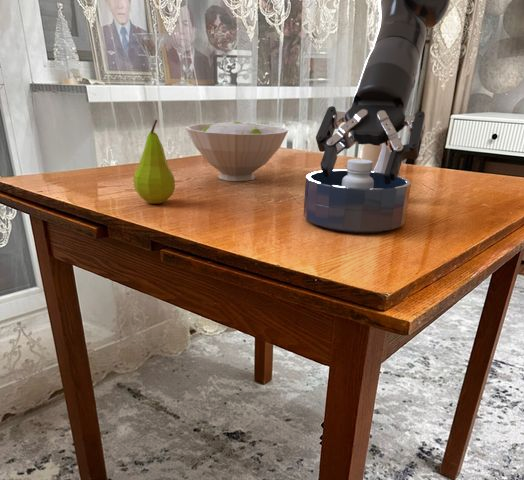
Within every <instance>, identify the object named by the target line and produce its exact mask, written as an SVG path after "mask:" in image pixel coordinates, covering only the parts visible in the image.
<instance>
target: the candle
mask: <svg viewBox="0 0 524 480" xmlns="http://www.w3.org/2000/svg"><path fill="white" fill-rule="evenodd" d="M381 148H382V144H380V146H376V145H372V144H364V145H363V144H362V153H361V159H364V160H370V161H372V162H373V167H372V172H373V171H374V169H375V166H376V164H377V162H378V159H379V156H380V152H381Z"/></svg>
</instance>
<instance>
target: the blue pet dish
mask: <svg viewBox="0 0 524 480" xmlns="http://www.w3.org/2000/svg"><path fill="white" fill-rule="evenodd" d="M346 170H347V169H333V171H332V174H331V177H330V178H328V177H325V176H324V173H322V170H318V171H313V172H311V173H308V174H306V176H305V182H304V183H305V185H304V198H303V214H302V215H303V217H304V218H305V220H307V221H308V222H310V223H312V224H314V225H317V226H319V227H321V228H325V229H326V230H327V229H328V230H331V231H336V232H341V233H342V232H343V233H350V234H351V233H352V234H374V233H375V234H376V233H383V232H387V231H390V230H395V229H398V228H401V227H403V225H405V224H406V220H407V219H406V218H407V213H408V206H409V199H410V192H411V187H412V183H411V180H410V179H407V178H405V177H403V176H401V175H400V176H398V177H397V178H396V180H395V181H394V180H392V181H391V184H385V181H384V173H381V172H372V171H371V173H370V177H371V178H372V179H373V180H374V186H373V188H350V187H342V179H343V177H345V176H346V175H348V172H347V171H346Z"/></svg>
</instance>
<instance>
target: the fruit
mask: <svg viewBox="0 0 524 480" xmlns="http://www.w3.org/2000/svg"><path fill="white" fill-rule="evenodd" d="M157 123H158V119H155V120H154V122H153V125H152V128H151V130H150V132H149V133H148V135H147V137H146V142H145V144H144V149H143V152H142V155H141V157H140V160H139V163H138V165H137V168H136V170H135V172H134V174H133V179H132V181H133V187H134V190H135V192H136V193H137V194H138V196H139V197H140V198H141V199H143V200H144V201H145V202H146V203H148V204H153V205H158V204H163V203H165V202H167V201H168V200H169V199H170V198H171V197H172V196H173V194H174V191H175V188H176V182H175V181H176V180H175V177H174V174H173V172H172V171H171V168H170V166H169V165H168V161H167V157H166V155H165V150H164V147H163V144H162V142H161V140H160V137H159V136H158V134H157V133H156V132H155V128H156V125H157Z"/></svg>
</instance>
